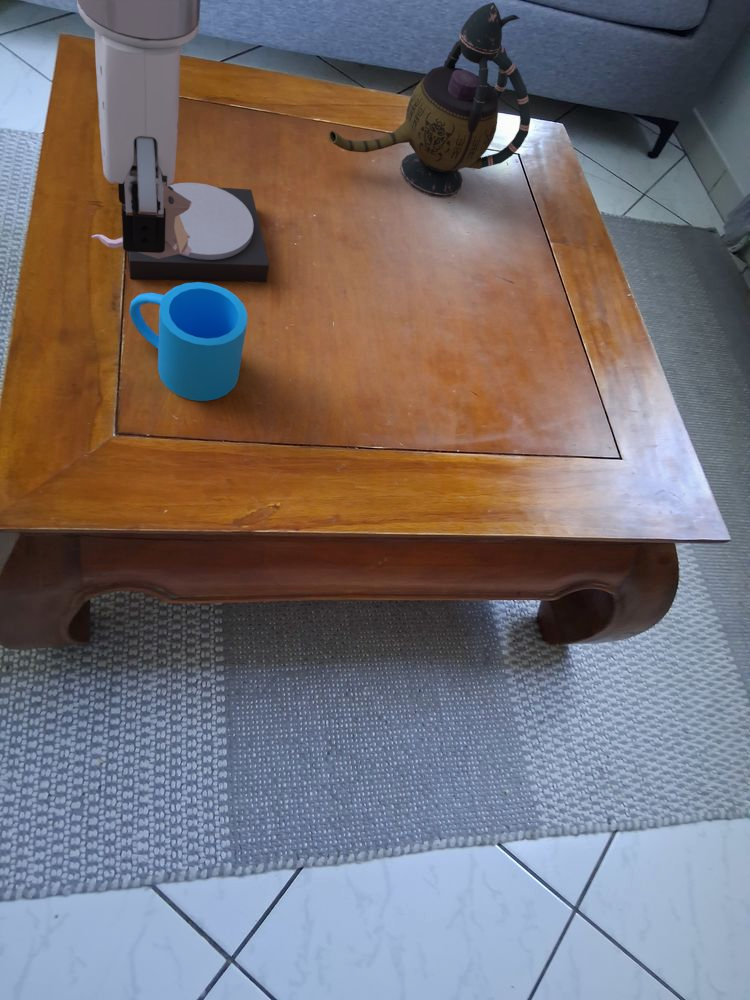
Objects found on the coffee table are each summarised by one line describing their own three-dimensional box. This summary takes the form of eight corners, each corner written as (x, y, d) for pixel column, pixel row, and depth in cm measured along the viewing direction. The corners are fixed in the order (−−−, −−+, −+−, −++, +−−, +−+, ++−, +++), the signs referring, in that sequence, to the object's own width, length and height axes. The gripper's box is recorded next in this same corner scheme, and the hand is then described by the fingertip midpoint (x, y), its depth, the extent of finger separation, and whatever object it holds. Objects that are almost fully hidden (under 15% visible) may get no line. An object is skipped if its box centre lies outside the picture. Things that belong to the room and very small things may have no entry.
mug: (252, 363, 81) (262, 307, 74) (214, 413, 76) (220, 359, 70) (152, 312, 81) (153, 252, 74) (108, 359, 76) (104, 300, 70)
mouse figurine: (91, 216, 64) (85, 144, 59) (188, 223, 67) (191, 155, 61) (91, 259, 62) (86, 189, 56) (192, 265, 64) (196, 198, 59)
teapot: (501, 206, 108) (578, 39, 89) (334, 202, 99) (380, 15, 80) (472, 151, 113) (539, -17, 94) (311, 143, 104) (349, -45, 85)
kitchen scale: (130, 278, 83) (129, 255, 80) (121, 199, 89) (120, 174, 86) (266, 282, 88) (270, 259, 85) (249, 206, 94) (252, 183, 91)
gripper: (71, -87, 51) (88, 156, 66) (80, 63, 43) (98, 300, 58) (186, -67, 53) (178, 162, 68) (215, 78, 45) (199, 302, 60)
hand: (141, 223), depth 63 cm, fingers closed on mouse figurine, 4 cm apart
